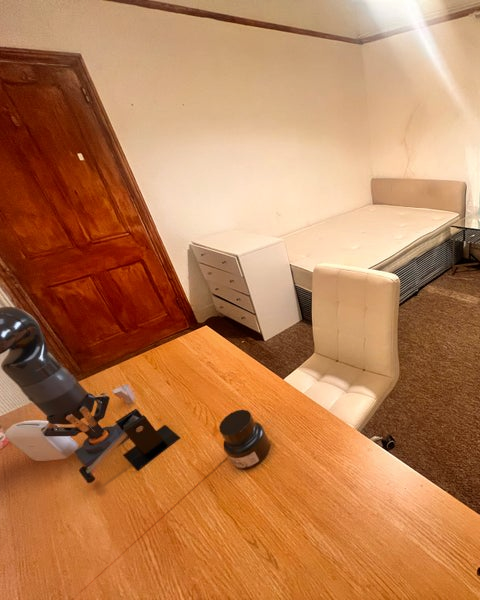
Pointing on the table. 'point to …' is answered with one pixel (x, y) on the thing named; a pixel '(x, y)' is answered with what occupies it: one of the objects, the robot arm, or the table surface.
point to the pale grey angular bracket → (125, 393)
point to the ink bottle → (244, 439)
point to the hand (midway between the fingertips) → (98, 435)
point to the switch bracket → (145, 439)
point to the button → (100, 439)
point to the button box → (98, 446)
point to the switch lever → (104, 454)
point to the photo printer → (40, 441)
